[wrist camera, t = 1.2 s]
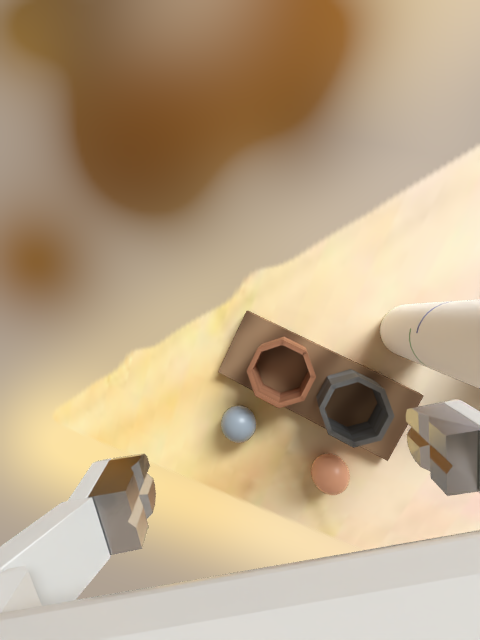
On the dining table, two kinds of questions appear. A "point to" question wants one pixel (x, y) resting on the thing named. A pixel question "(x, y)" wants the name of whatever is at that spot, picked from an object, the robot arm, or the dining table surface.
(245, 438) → the slate ball
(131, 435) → the dining table surface
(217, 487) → the dining table surface
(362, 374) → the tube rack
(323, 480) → the terracotta ball
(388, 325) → the cylindrical container
